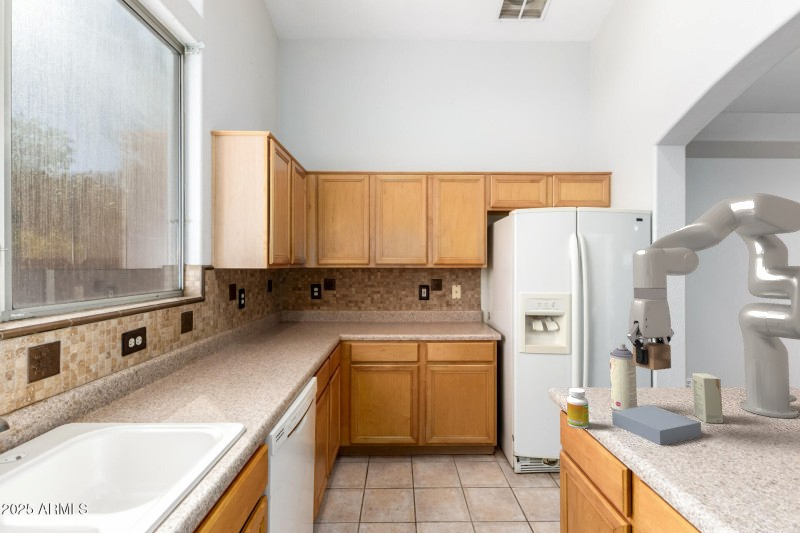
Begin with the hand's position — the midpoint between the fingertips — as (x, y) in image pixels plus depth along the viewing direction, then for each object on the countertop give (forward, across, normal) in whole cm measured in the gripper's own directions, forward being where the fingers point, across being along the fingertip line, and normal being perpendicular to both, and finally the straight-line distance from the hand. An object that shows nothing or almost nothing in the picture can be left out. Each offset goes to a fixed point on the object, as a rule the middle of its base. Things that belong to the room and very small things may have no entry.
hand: (651, 362), depth 104 cm
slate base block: (+18, -1, 0) cm, 18 cm away
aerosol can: (+18, -6, -14) cm, 24 cm away
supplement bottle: (+18, +15, -10) cm, 26 cm away
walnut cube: (+1, 0, 0) cm, 1 cm away
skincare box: (+18, -21, 0) cm, 27 cm away
